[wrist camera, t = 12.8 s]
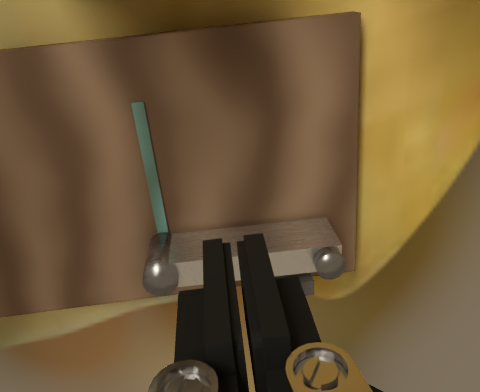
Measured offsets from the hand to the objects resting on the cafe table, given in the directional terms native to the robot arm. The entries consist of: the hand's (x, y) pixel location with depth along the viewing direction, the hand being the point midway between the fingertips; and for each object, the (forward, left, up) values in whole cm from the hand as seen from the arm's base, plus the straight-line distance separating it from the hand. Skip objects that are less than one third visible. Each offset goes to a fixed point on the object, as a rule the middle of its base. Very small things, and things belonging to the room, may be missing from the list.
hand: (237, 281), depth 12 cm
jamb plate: (-5, -5, -21) cm, 22 cm away
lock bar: (+1, -10, -19) cm, 22 cm away
